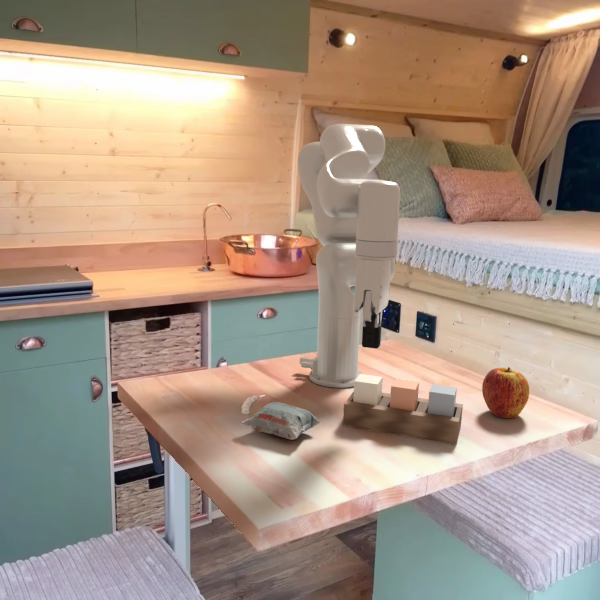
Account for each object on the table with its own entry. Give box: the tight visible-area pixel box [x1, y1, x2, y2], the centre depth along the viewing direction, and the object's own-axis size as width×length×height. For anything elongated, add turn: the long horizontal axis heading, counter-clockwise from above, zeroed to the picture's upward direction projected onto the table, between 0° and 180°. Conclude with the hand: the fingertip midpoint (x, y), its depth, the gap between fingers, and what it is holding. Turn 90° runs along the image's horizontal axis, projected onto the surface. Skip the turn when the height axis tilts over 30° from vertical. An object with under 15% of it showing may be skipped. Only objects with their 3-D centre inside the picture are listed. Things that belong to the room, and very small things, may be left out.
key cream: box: [353, 373, 384, 406], centre depth 118 cm, size 4×4×5 cm
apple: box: [481, 367, 530, 419], centre depth 123 cm, size 9×9×10 cm
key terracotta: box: [390, 378, 420, 411], centre depth 116 cm, size 4×4×5 cm
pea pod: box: [240, 394, 267, 415], centre depth 124 cm, size 15×4×2 cm, turn 170°
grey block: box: [428, 383, 458, 417], centre depth 114 cm, size 4×4×5 cm
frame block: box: [342, 390, 464, 446], centre depth 117 cm, size 21×9×4 cm, turn 71°
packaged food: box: [240, 401, 321, 441], centre depth 111 cm, size 9×12×5 cm
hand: (370, 346), depth 116 cm, fingers closed
